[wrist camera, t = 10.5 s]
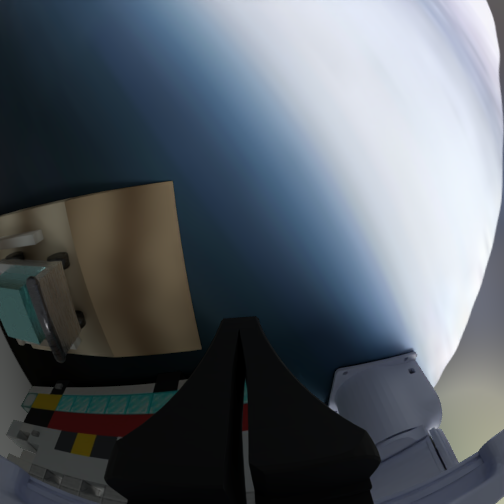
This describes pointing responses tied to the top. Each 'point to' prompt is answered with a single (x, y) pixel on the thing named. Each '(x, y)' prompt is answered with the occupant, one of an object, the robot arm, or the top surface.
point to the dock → (114, 267)
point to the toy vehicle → (92, 432)
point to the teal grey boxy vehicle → (39, 302)
